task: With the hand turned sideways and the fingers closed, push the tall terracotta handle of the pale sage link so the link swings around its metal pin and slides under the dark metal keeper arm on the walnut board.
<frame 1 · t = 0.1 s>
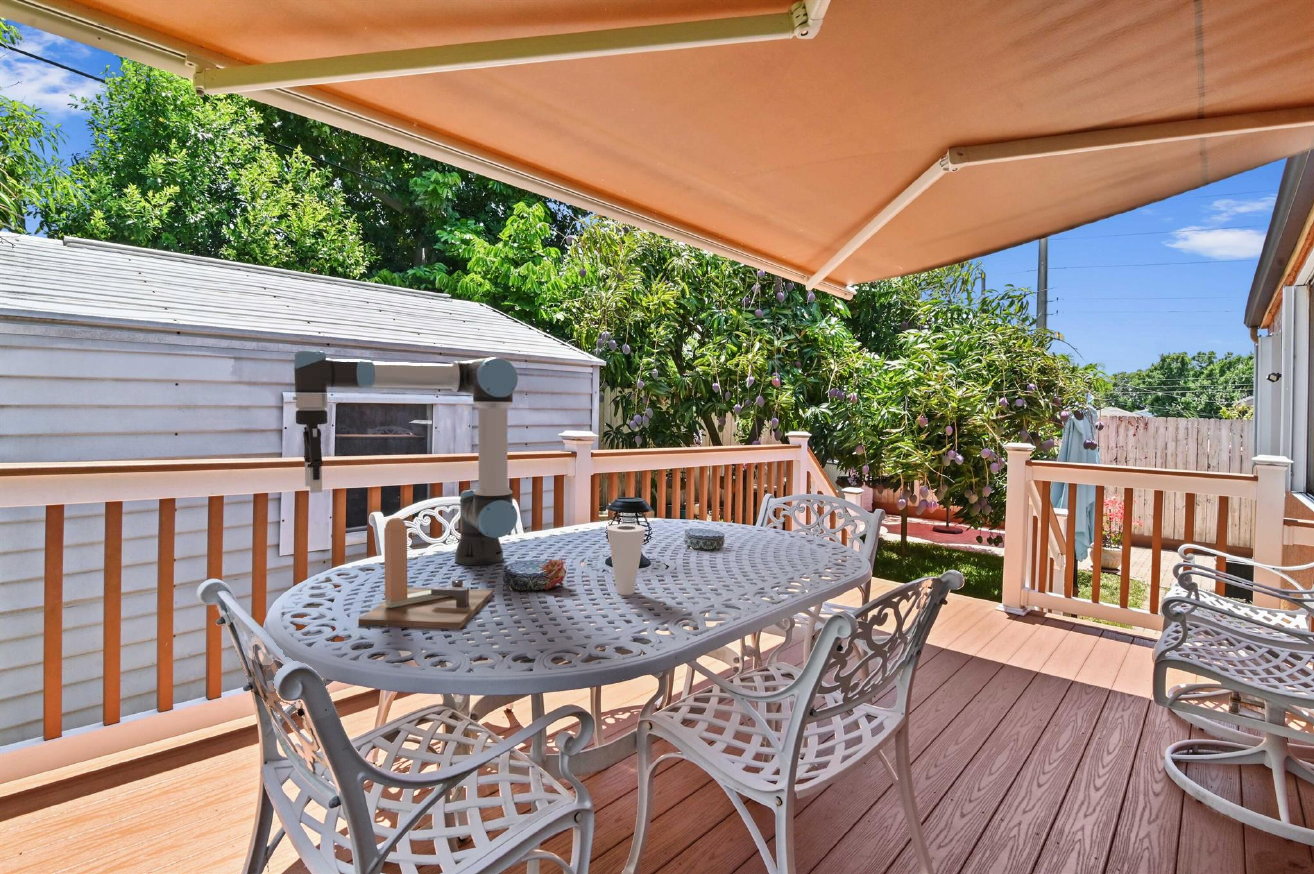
hand: (313, 489, 183), 28 cm above the table, tool pointing down, fingers open, 13 cm apart
board: (457, 600, 179), on the table
keeper: (456, 591, 175), on the board, point 4 cm above the table
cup: (625, 593, 189), on the table
flower: (551, 588, 192), on the table
link: (427, 557, 173), point 13 cm above the table, hinge at 0.0°
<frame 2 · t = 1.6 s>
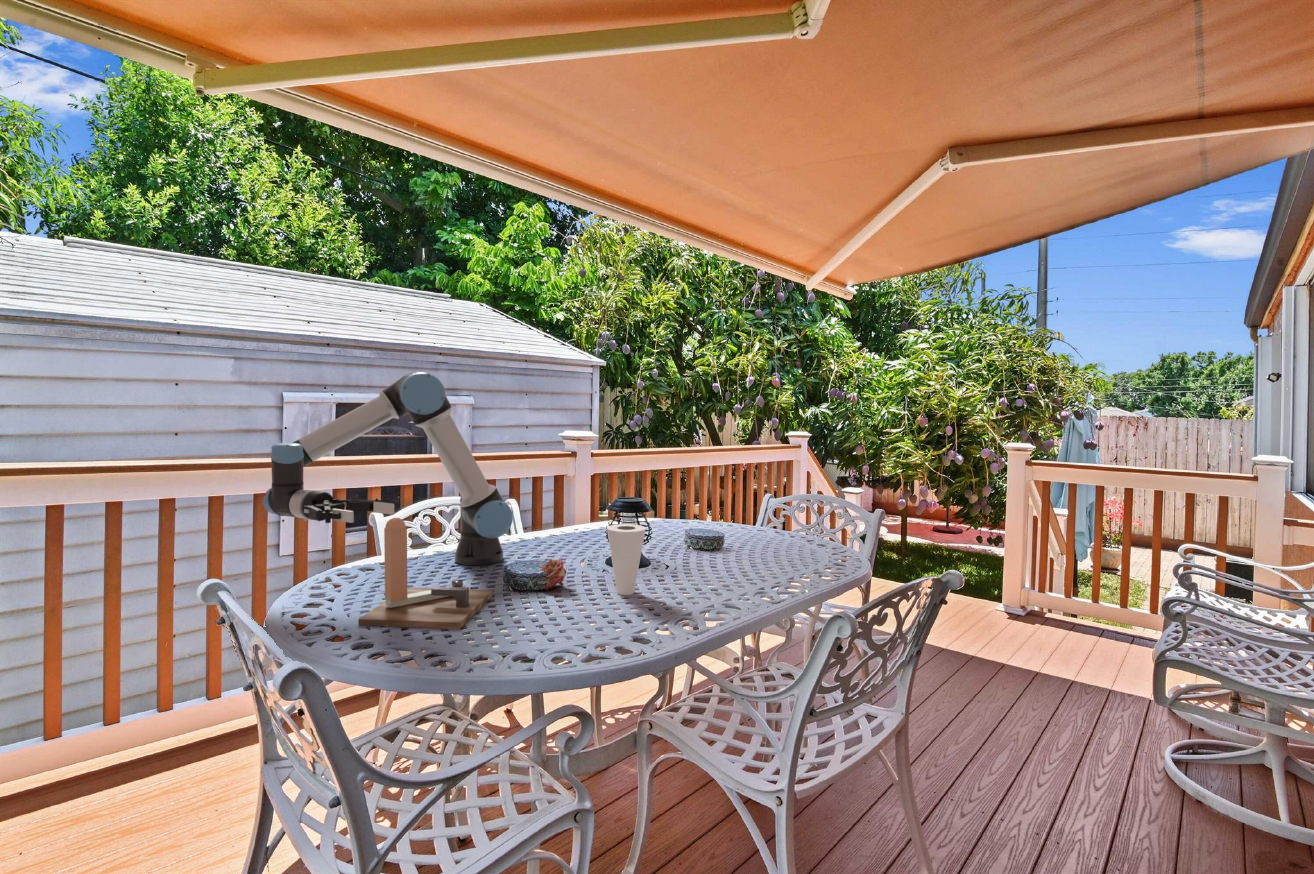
hand: (373, 512, 170), 24 cm above the table, tool horizontal, fingers open, 12 cm apart
nothing on the table moved.
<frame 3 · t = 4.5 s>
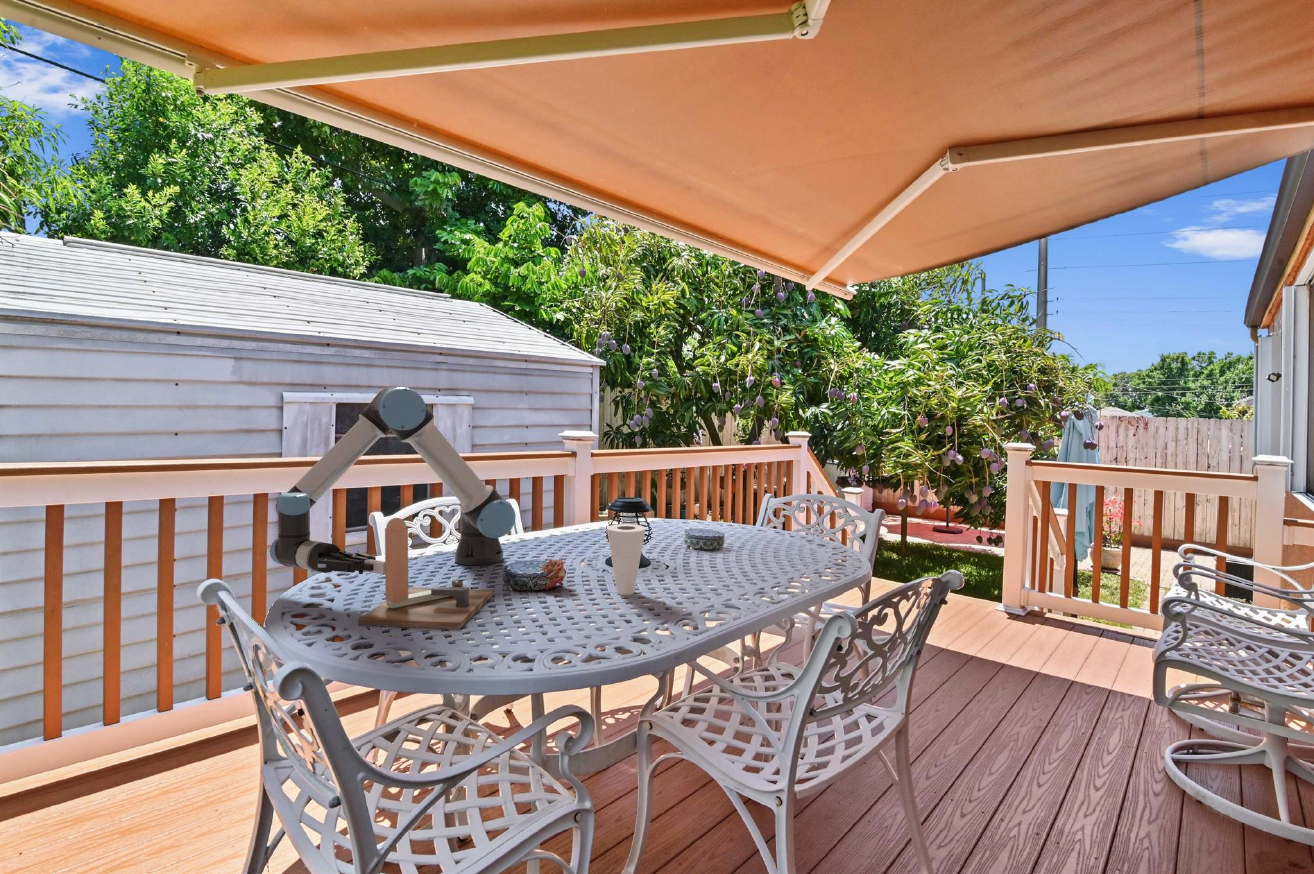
hand: (385, 568, 168), 11 cm above the table, tool horizontal, fingers closed
link: (427, 557, 173), point 13 cm above the table, hinge at 1.8°, touching gripper
everything else where it was.
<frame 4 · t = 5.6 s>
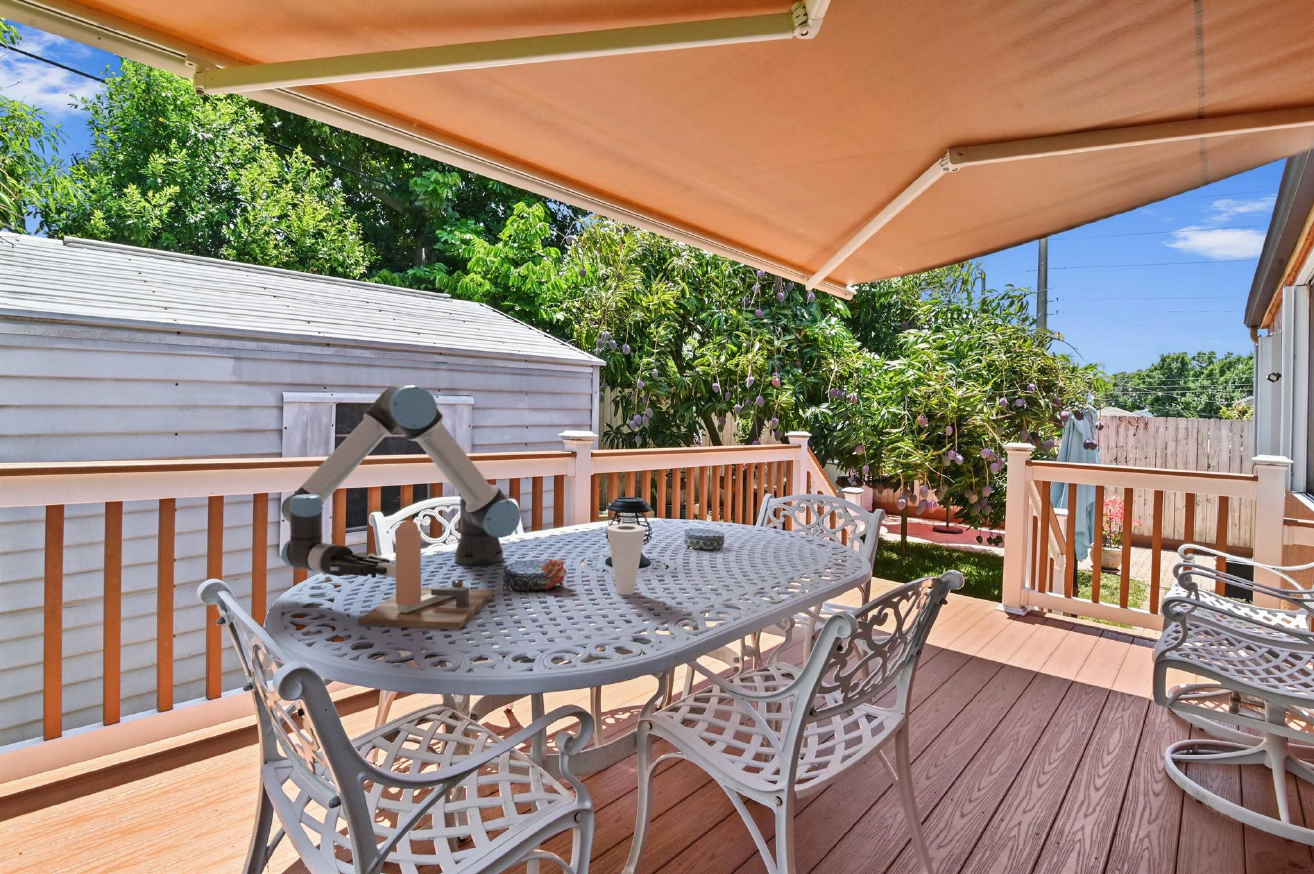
hand: (399, 571, 165), 11 cm above the table, tool horizontal, fingers closed
link: (433, 559, 171), point 13 cm above the table, hinge at 19.6°
everything else where it was.
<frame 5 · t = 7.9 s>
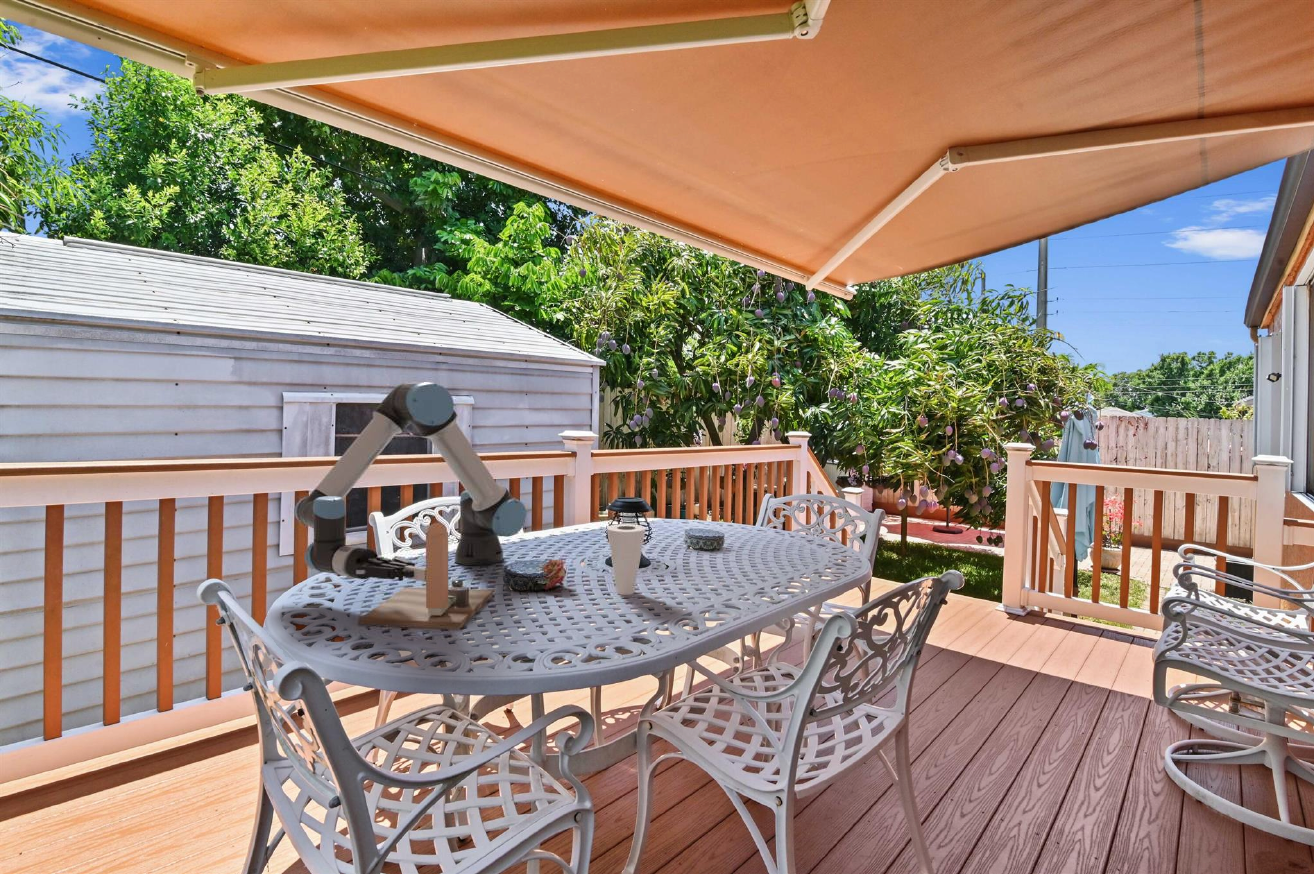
hand: (426, 575, 163), 11 cm above the table, tool horizontal, fingers closed
link: (447, 560, 170), point 13 cm above the table, hinge at 47.9°, touching gripper
everything else where it was.
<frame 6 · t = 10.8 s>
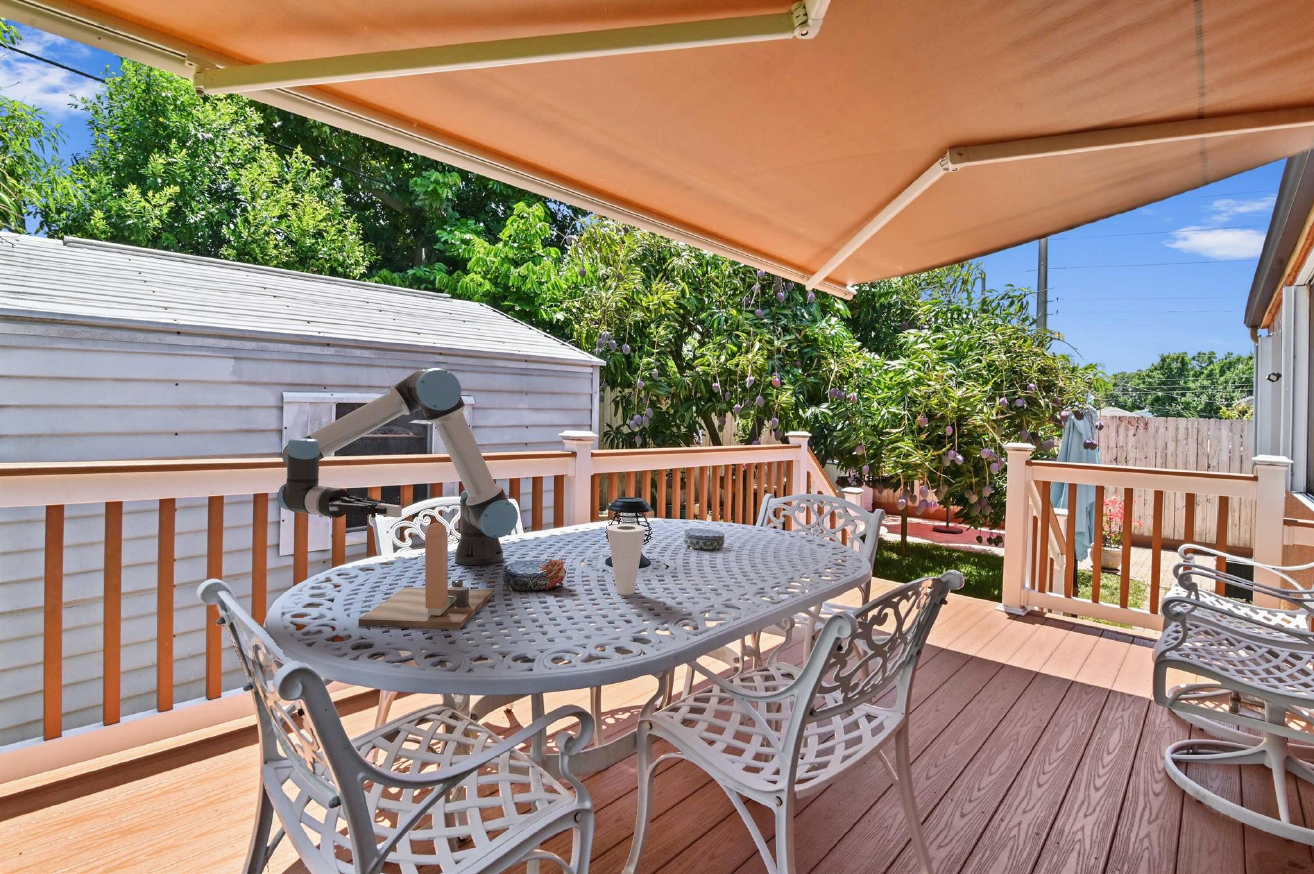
hand: (399, 511, 168), 25 cm above the table, tool horizontal, fingers closed
link: (447, 560, 170), point 13 cm above the table, hinge at 47.4°
everything else where it was.
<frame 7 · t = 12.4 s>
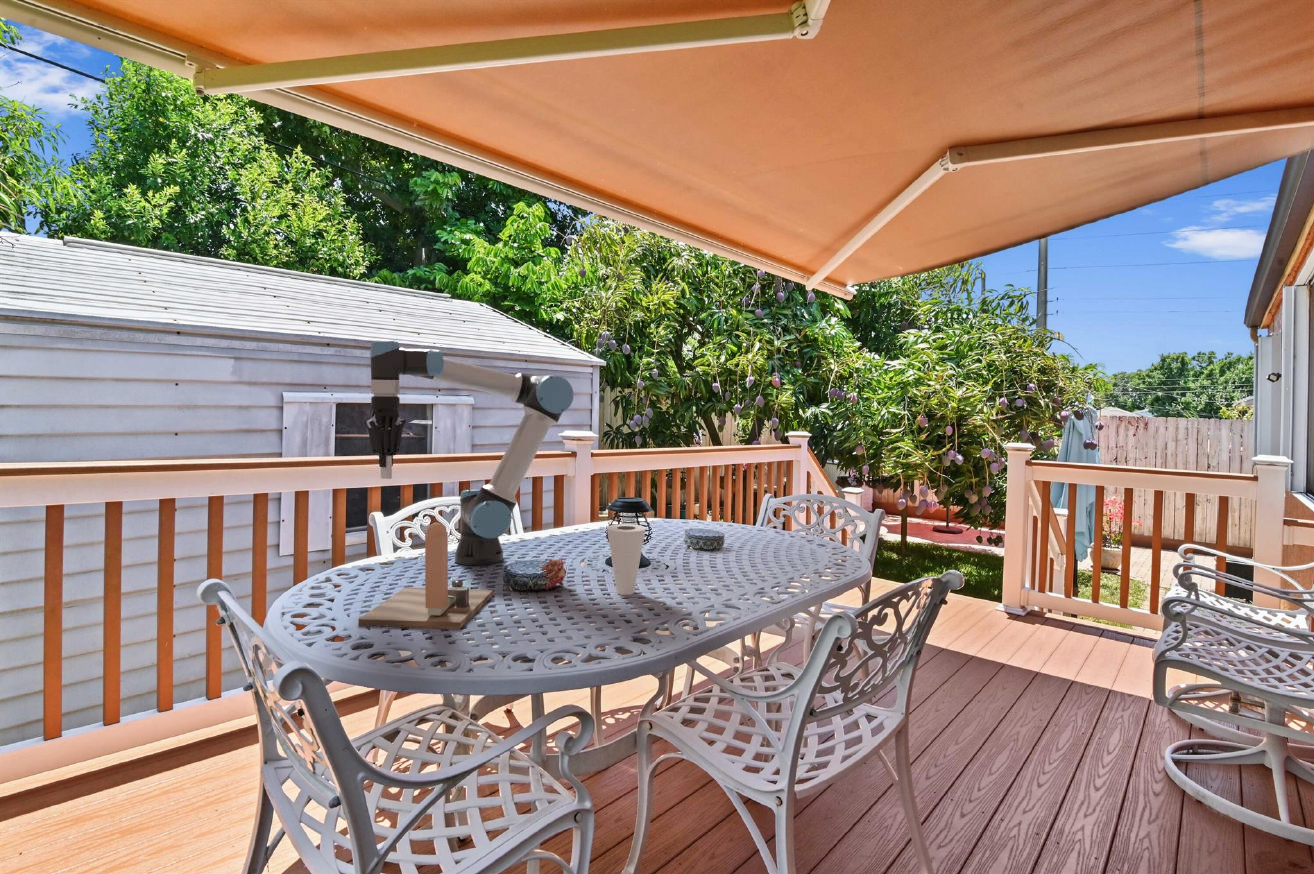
hand: (386, 478, 196), 29 cm above the table, tool pointing down, fingers closed
nothing on the table moved.
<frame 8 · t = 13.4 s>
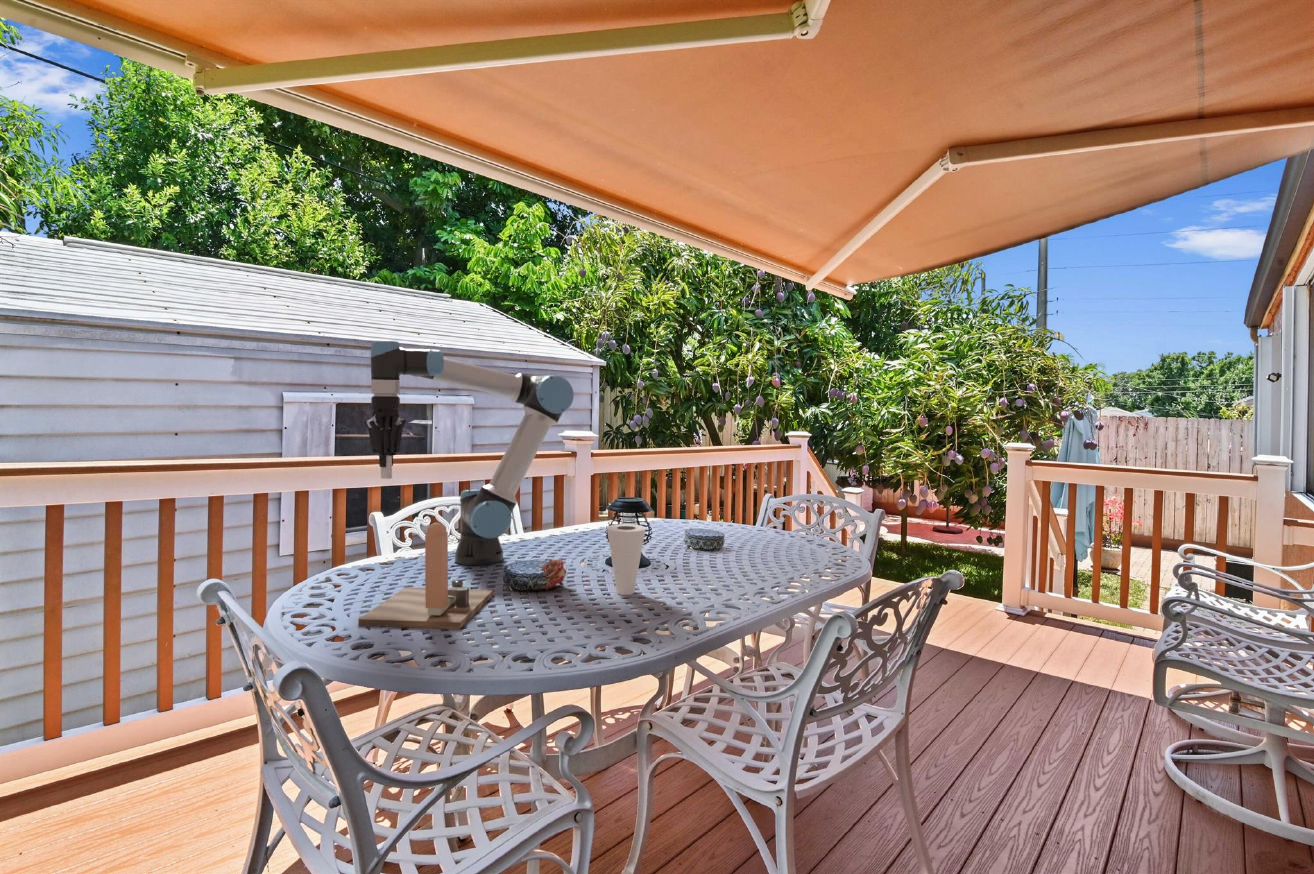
hand: (386, 478, 196), 29 cm above the table, tool pointing down, fingers closed
nothing on the table moved.
at the end: link at +47° (first picture: +0°); flower moved 0.3 cm from its start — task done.
